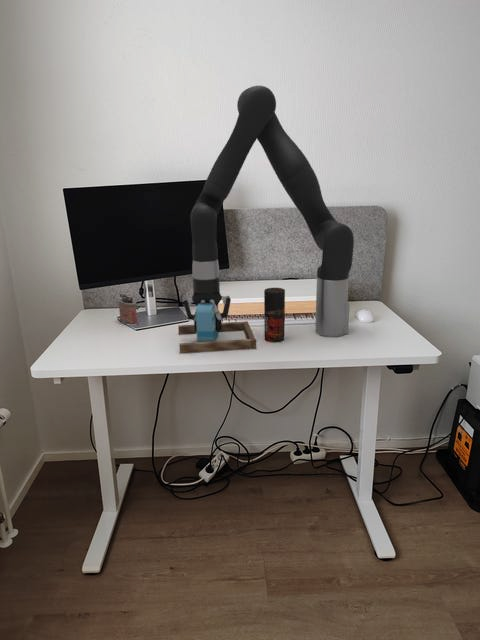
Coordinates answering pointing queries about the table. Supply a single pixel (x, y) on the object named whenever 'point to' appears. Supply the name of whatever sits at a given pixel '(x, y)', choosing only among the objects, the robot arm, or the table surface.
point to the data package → (206, 322)
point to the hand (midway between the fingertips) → (208, 331)
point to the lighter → (127, 309)
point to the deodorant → (274, 315)
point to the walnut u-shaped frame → (219, 345)
